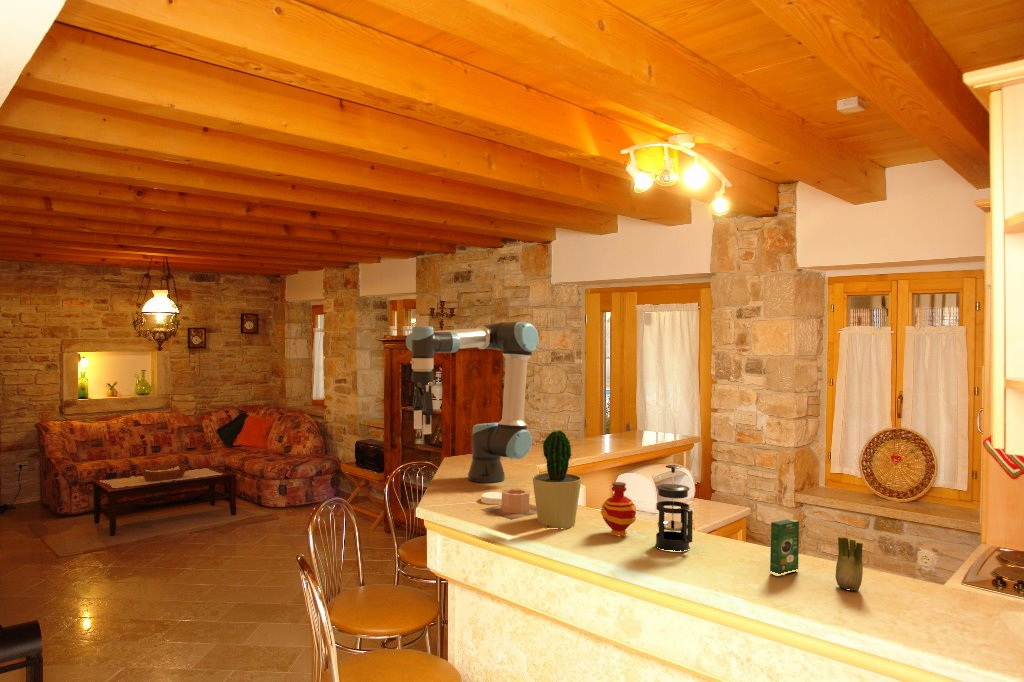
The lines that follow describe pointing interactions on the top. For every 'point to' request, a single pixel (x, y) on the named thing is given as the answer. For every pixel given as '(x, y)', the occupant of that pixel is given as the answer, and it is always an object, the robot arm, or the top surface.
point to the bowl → (515, 500)
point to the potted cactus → (557, 484)
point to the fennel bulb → (849, 564)
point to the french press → (672, 538)
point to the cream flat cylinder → (492, 498)
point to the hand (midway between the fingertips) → (422, 431)
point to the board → (498, 511)
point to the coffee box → (784, 546)
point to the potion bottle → (618, 510)
